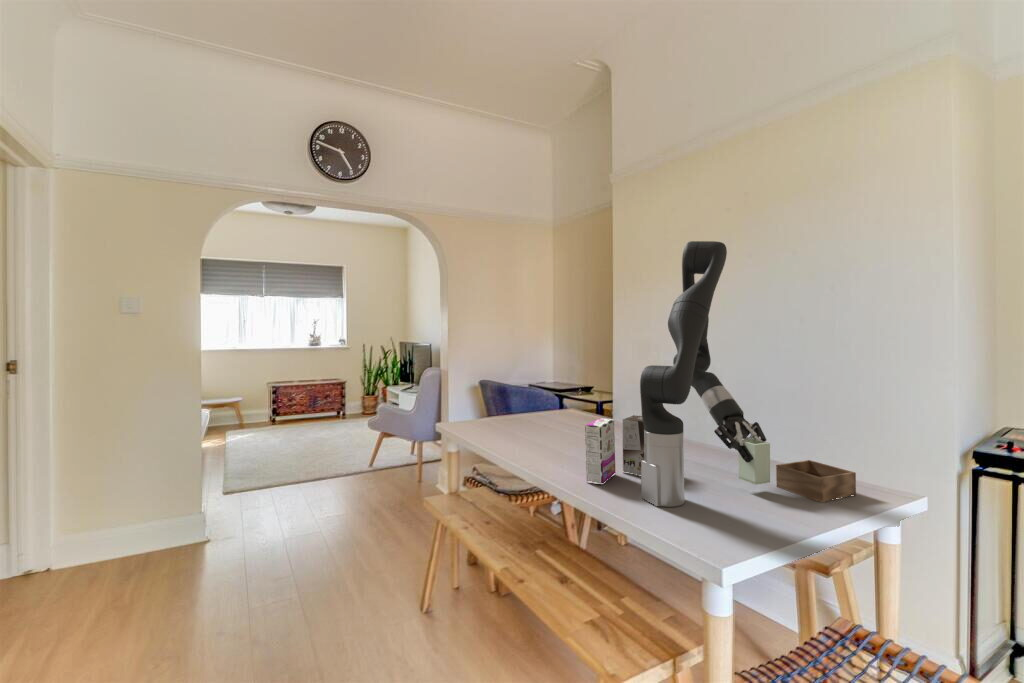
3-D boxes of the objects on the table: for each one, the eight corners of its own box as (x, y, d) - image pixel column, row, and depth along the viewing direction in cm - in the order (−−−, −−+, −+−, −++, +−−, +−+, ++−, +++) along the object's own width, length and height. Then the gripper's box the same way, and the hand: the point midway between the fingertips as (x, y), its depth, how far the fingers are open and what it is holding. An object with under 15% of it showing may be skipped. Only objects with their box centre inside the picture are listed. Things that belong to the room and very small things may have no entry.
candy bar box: (599, 472, 131) (598, 417, 131) (616, 474, 129) (615, 419, 128) (585, 483, 122) (584, 424, 122) (602, 486, 119) (601, 426, 119)
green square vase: (755, 484, 109) (755, 444, 109) (738, 478, 114) (738, 440, 114) (770, 482, 111) (770, 443, 111) (753, 476, 116) (753, 438, 116)
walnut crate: (821, 502, 105) (821, 478, 105) (776, 486, 116) (776, 464, 116) (855, 495, 109) (855, 472, 109) (809, 481, 120) (808, 459, 120)
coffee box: (643, 477, 126) (642, 421, 126) (622, 473, 130) (621, 419, 130) (654, 469, 133) (653, 416, 133) (634, 465, 137) (633, 414, 137)
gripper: (708, 398, 118) (746, 454, 106) (749, 396, 122) (789, 449, 111) (694, 415, 123) (728, 470, 111) (733, 412, 127) (770, 464, 116)
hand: (758, 459), depth 111 cm, fingers closed on green square vase, 5 cm apart
